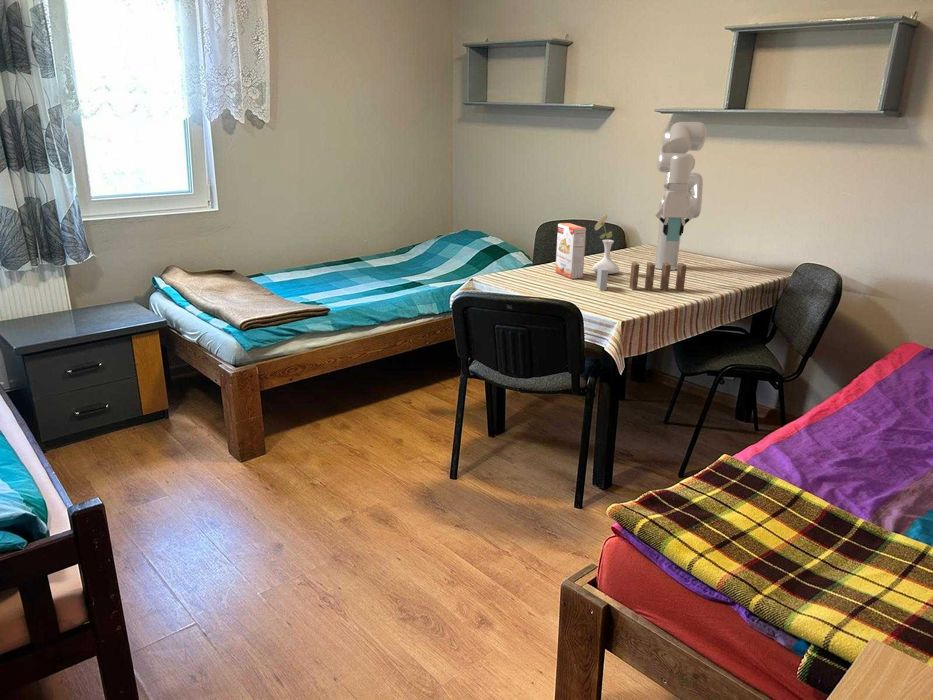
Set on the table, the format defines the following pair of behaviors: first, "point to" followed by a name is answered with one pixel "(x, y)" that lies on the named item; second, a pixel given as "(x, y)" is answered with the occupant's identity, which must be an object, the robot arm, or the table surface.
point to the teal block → (673, 229)
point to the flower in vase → (606, 249)
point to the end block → (602, 277)
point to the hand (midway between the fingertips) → (672, 234)
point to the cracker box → (570, 250)
